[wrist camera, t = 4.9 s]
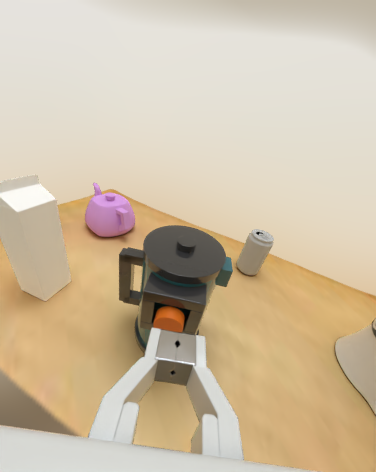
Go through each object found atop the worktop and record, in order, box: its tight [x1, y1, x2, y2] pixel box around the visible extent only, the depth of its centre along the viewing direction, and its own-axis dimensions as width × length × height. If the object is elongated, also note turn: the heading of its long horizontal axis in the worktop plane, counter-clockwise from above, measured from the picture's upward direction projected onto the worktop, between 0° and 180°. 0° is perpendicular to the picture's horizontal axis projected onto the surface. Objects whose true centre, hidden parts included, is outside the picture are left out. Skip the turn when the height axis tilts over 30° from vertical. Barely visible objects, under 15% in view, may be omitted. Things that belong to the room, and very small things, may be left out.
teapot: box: [85, 183, 135, 237], centre depth 57 cm, size 13×20×11 cm
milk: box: [0, 175, 71, 301], centre depth 33 cm, size 6×6×22 cm
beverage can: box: [237, 229, 274, 275], centre depth 52 cm, size 6×6×12 cm
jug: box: [119, 225, 233, 353], centre depth 30 cm, size 13×16×20 cm
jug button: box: [153, 306, 185, 332], centre depth 22 cm, size 2×3×3 cm, turn 84°
